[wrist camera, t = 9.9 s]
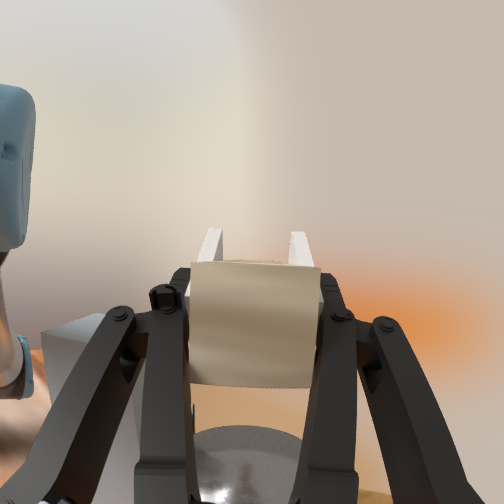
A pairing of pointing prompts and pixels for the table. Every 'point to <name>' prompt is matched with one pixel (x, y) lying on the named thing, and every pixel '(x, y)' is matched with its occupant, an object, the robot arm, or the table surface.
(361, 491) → the table surface
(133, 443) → the stand
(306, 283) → the beech bar
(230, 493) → the metal pedestal stand
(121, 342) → the robot arm
